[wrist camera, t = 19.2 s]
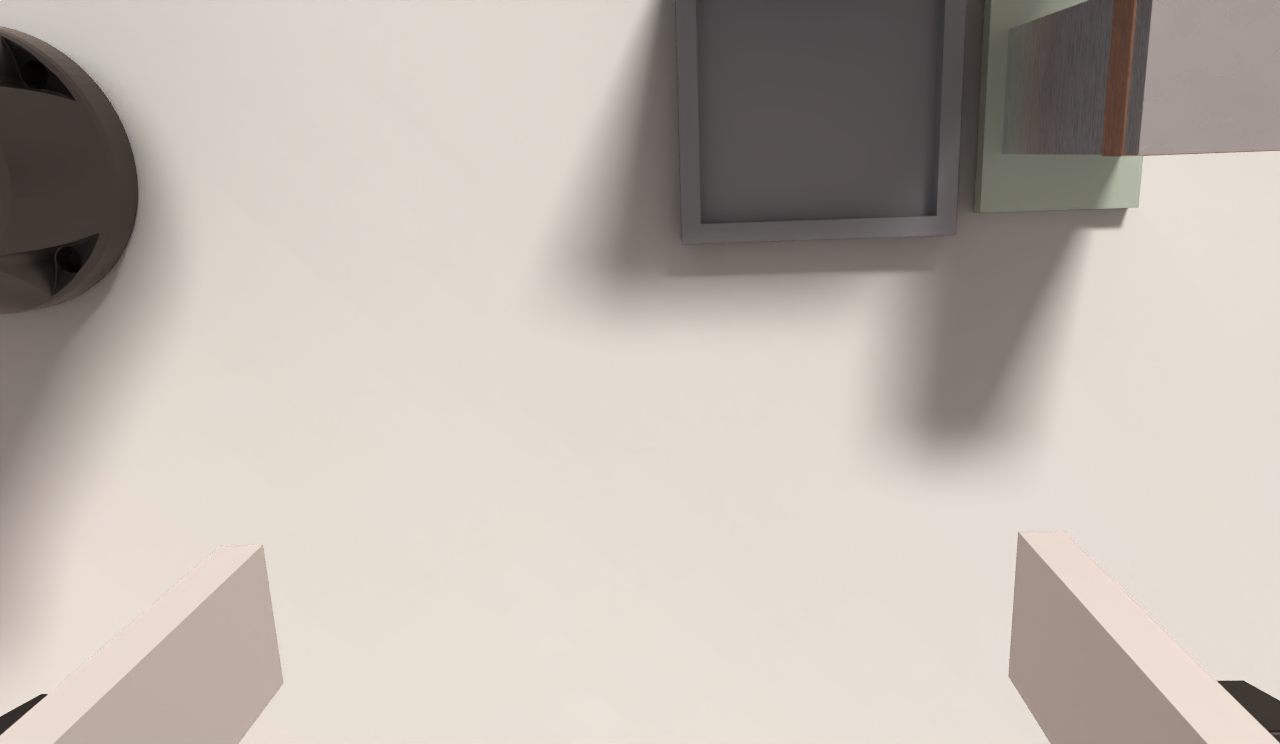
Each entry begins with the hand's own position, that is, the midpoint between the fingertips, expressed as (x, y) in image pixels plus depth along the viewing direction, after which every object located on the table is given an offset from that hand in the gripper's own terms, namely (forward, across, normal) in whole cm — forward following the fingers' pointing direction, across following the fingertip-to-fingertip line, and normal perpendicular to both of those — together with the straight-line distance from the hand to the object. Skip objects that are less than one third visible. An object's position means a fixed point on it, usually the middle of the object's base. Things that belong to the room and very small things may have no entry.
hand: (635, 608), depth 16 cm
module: (+34, +20, +10) cm, 41 cm away
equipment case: (+35, +8, +10) cm, 37 cm away
